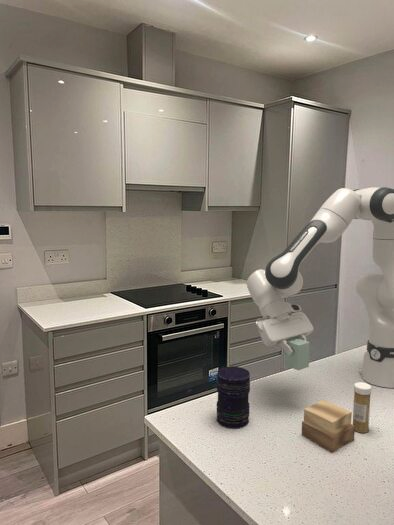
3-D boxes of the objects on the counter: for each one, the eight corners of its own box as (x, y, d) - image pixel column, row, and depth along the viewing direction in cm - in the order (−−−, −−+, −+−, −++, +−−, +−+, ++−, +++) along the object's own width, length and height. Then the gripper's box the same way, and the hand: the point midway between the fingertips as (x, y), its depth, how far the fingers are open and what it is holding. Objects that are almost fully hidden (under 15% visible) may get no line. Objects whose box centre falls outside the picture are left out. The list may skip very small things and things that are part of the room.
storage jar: (253, 416, 124) (254, 369, 122) (243, 432, 115) (244, 382, 113) (223, 409, 128) (223, 364, 126) (211, 424, 120) (211, 376, 118)
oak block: (322, 412, 118) (323, 399, 118) (350, 425, 111) (351, 411, 111) (303, 422, 113) (304, 409, 112) (331, 436, 106) (332, 422, 105)
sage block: (296, 361, 131) (297, 337, 129) (308, 366, 126) (309, 342, 125) (285, 365, 128) (286, 340, 127) (298, 370, 124) (298, 345, 123)
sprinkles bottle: (372, 430, 116) (374, 386, 115) (362, 435, 114) (365, 390, 112) (358, 423, 120) (360, 380, 118) (348, 427, 118) (350, 384, 116)
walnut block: (323, 425, 120) (324, 411, 119) (354, 441, 112) (354, 425, 111) (301, 436, 114) (301, 421, 113) (331, 454, 106) (332, 438, 105)
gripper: (258, 314, 124) (281, 354, 118) (303, 304, 136) (326, 340, 129) (248, 324, 129) (270, 363, 122) (292, 314, 140) (314, 349, 134)
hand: (299, 351), depth 126 cm, fingers closed on sage block, 5 cm apart
